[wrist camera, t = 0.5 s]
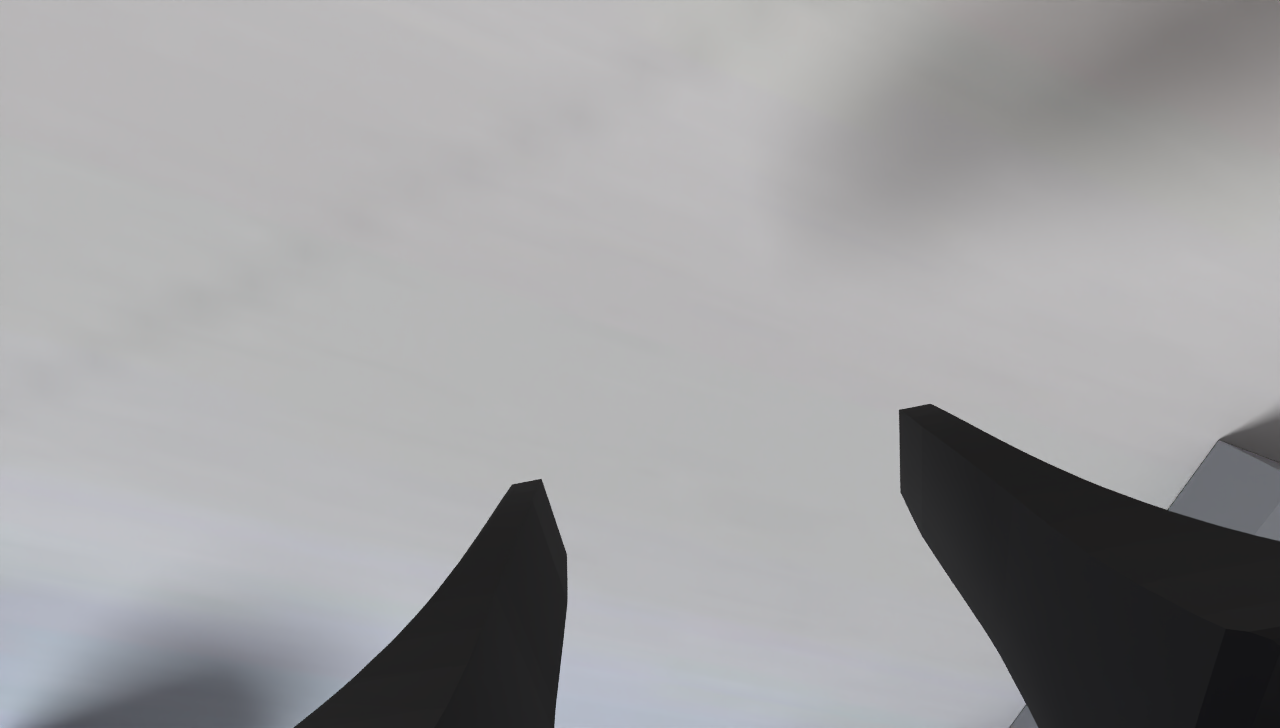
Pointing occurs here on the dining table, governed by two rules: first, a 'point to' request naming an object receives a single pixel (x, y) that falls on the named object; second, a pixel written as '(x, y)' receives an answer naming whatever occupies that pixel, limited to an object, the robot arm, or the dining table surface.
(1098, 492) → the robot arm
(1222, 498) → the button panel
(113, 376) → the dining table surface
